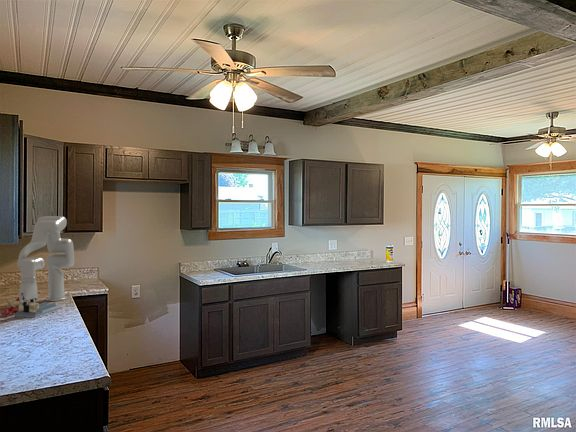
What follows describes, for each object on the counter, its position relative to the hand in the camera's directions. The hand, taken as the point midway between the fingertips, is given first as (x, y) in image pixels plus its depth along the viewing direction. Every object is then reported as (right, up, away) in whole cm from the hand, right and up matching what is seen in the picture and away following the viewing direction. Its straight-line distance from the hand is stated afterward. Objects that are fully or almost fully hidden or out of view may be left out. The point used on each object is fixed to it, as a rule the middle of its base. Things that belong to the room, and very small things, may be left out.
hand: (29, 310), depth 257 cm
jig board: (+1, -3, +8) cm, 9 cm away
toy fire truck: (-12, -3, +3) cm, 13 cm away
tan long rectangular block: (0, 0, 0) cm, 0 cm away
